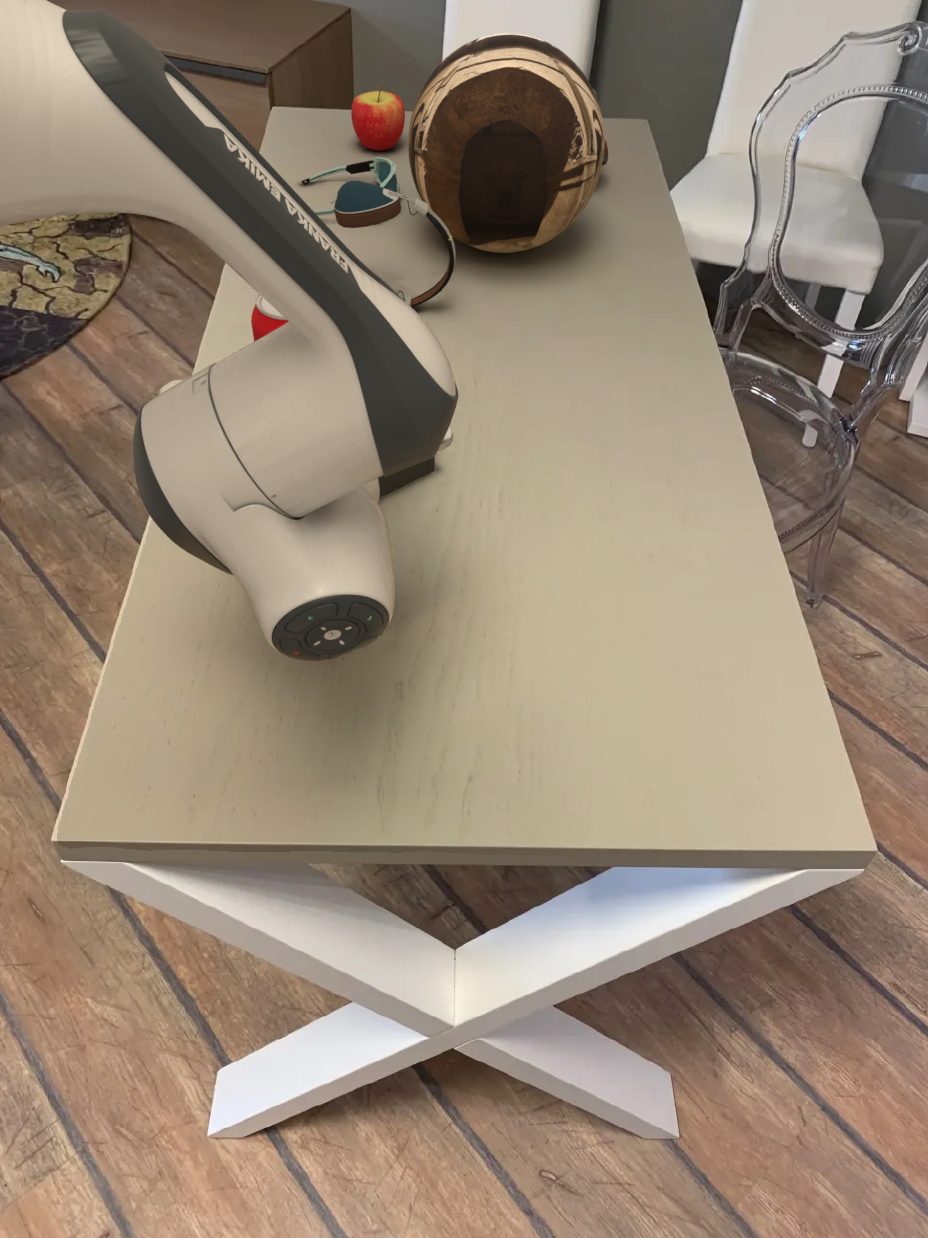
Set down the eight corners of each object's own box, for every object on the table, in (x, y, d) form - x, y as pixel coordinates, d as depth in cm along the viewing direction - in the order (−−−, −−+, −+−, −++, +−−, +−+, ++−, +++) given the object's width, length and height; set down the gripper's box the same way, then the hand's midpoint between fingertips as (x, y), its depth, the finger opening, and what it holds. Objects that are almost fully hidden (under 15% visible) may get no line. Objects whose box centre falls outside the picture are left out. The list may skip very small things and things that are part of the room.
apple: (416, 150, 149) (416, 81, 142) (370, 162, 146) (368, 92, 138) (387, 132, 154) (385, 65, 146) (342, 143, 150) (338, 74, 143)
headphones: (266, 307, 114) (446, 331, 116) (264, 181, 103) (463, 210, 105) (274, 282, 119) (448, 305, 120) (273, 158, 107) (464, 187, 109)
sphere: (399, 281, 122) (396, 68, 103) (418, 196, 139) (418, -1, 120) (592, 294, 121) (624, 83, 103) (587, 207, 138) (614, 11, 120)
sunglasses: (398, 225, 132) (393, 189, 128) (294, 235, 133) (286, 199, 129) (403, 181, 141) (398, 147, 138) (306, 190, 142) (298, 156, 139)
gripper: (459, 415, 64) (426, 310, 74) (150, 440, 61) (156, 327, 70) (456, 486, 69) (426, 379, 78) (169, 513, 66) (172, 398, 75)
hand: (296, 355), depth 74 cm, fingers closed on beverage can, 6 cm apart
